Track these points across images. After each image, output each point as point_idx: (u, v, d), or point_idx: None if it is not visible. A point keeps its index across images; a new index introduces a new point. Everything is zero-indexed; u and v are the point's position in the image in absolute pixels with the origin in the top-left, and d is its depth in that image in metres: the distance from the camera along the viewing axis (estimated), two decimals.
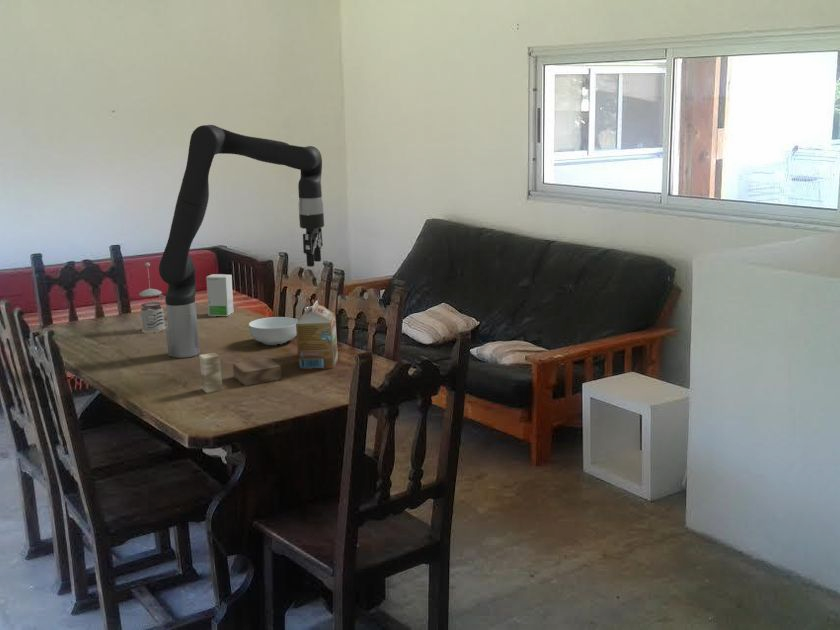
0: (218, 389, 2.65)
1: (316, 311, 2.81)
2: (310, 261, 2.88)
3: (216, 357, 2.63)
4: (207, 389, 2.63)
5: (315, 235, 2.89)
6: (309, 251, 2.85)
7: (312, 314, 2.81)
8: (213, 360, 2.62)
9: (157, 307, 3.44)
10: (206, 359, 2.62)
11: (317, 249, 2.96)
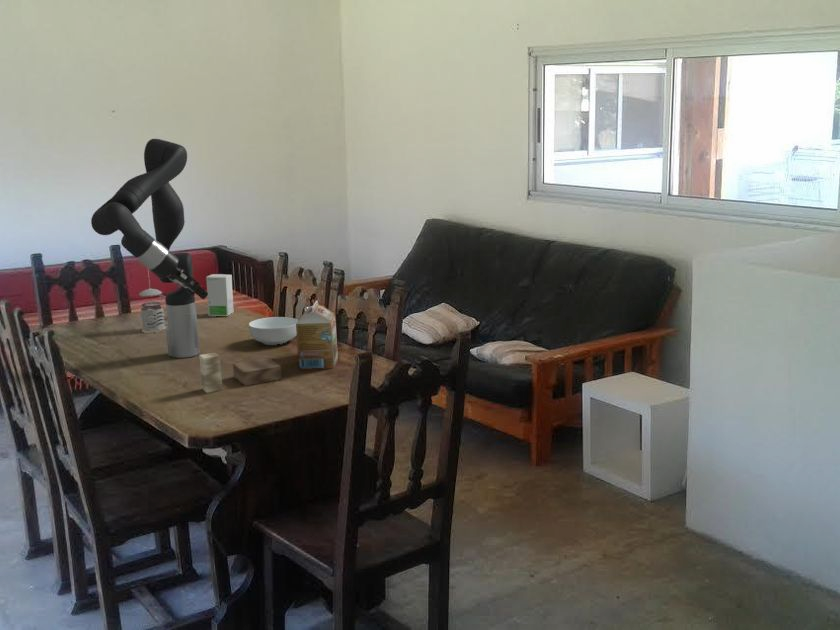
0: (218, 389, 2.65)
1: (316, 311, 2.81)
2: None
3: (216, 357, 2.63)
4: (207, 389, 2.63)
5: None
6: None
7: (312, 314, 2.81)
8: (213, 360, 2.63)
9: (157, 307, 3.44)
10: (206, 359, 2.62)
11: None
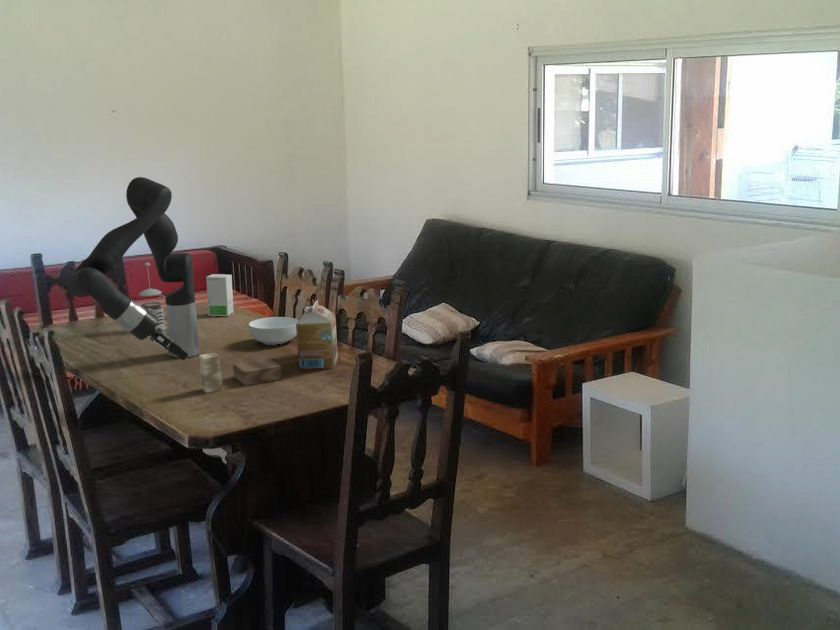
0: (218, 389, 2.65)
1: (316, 311, 2.81)
2: None
3: (216, 357, 2.63)
4: (207, 389, 2.63)
5: None
6: None
7: (312, 314, 2.81)
8: (213, 360, 2.63)
9: (157, 307, 3.44)
10: (206, 359, 2.62)
11: None
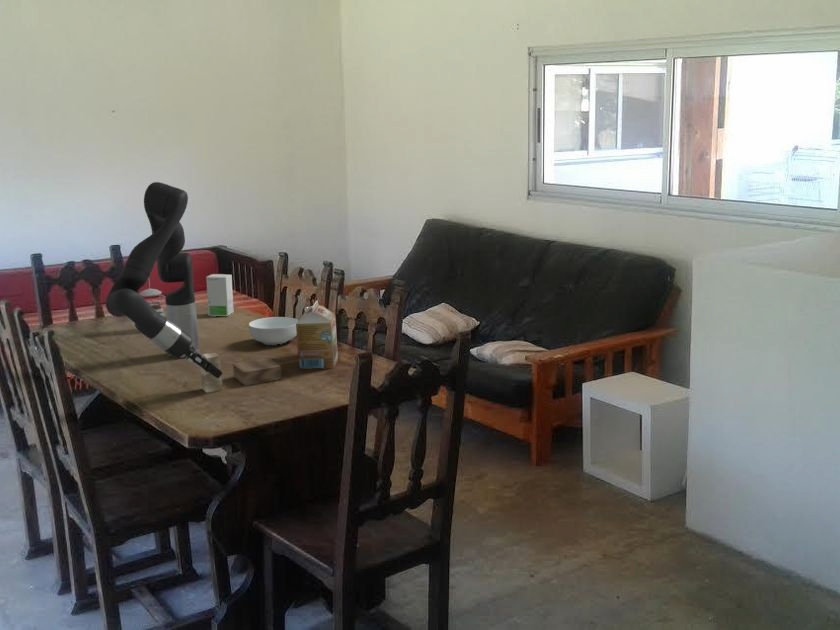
0: (218, 389, 2.65)
1: (316, 311, 2.81)
2: None
3: (216, 357, 2.63)
4: (207, 389, 2.63)
5: None
6: None
7: (312, 314, 2.81)
8: (213, 360, 2.62)
9: (157, 307, 3.44)
10: None
11: None
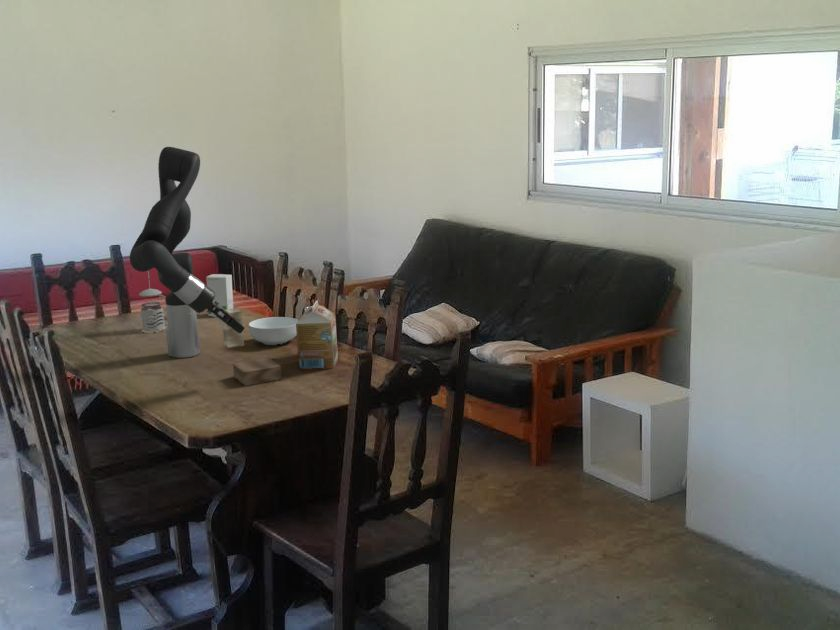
0: (240, 344, 2.68)
1: (316, 311, 2.81)
2: None
3: (238, 312, 2.66)
4: (229, 344, 2.66)
5: None
6: None
7: (312, 314, 2.81)
8: (235, 315, 2.65)
9: (157, 307, 3.44)
10: (229, 314, 2.64)
11: None
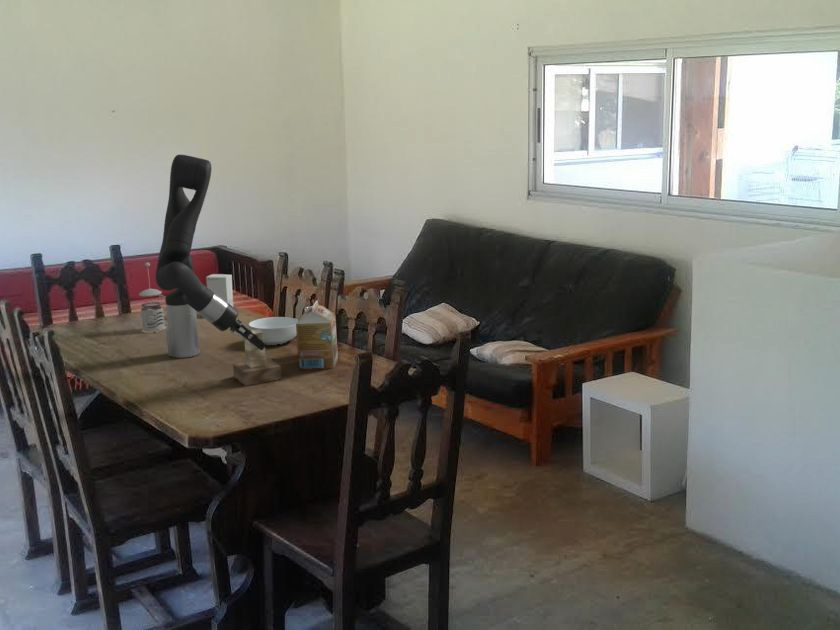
0: (262, 364, 2.73)
1: (316, 311, 2.81)
2: None
3: (260, 333, 2.71)
4: (252, 364, 2.72)
5: None
6: None
7: (312, 314, 2.81)
8: (258, 336, 2.71)
9: (157, 307, 3.44)
10: (251, 335, 2.70)
11: None
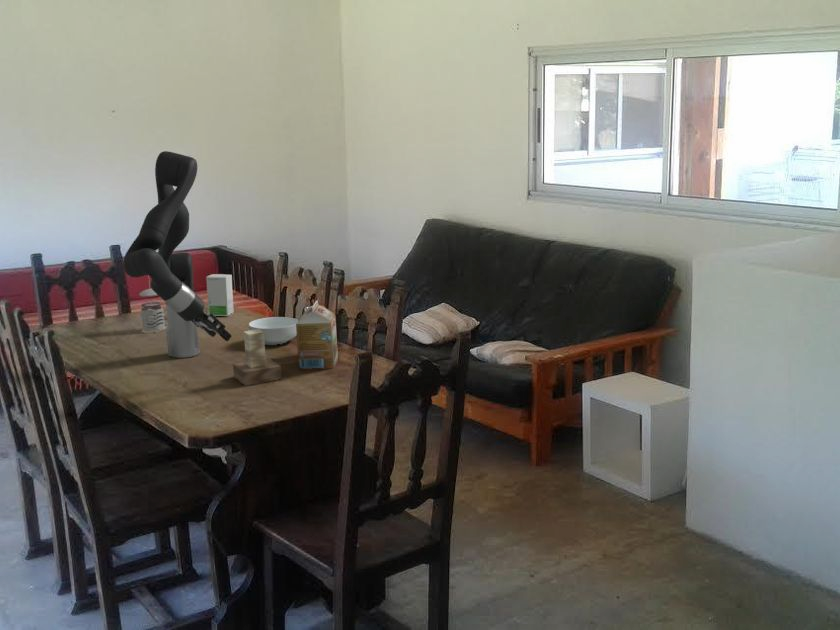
0: (262, 364, 2.73)
1: (316, 311, 2.81)
2: None
3: (260, 333, 2.71)
4: (252, 364, 2.72)
5: None
6: None
7: (312, 314, 2.81)
8: (258, 336, 2.71)
9: (157, 307, 3.44)
10: (251, 335, 2.70)
11: None
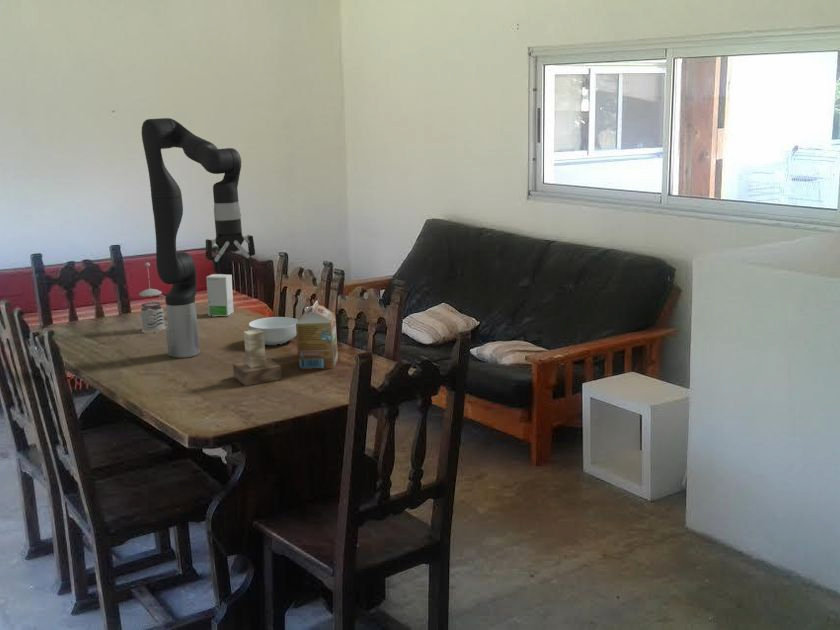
0: (262, 364, 2.73)
1: (316, 311, 2.81)
2: (214, 268, 2.76)
3: (260, 333, 2.71)
4: (252, 364, 2.72)
5: (224, 242, 2.75)
6: (207, 258, 2.74)
7: (312, 314, 2.81)
8: (258, 336, 2.71)
9: (157, 307, 3.44)
10: (251, 335, 2.70)
11: (244, 257, 2.79)
